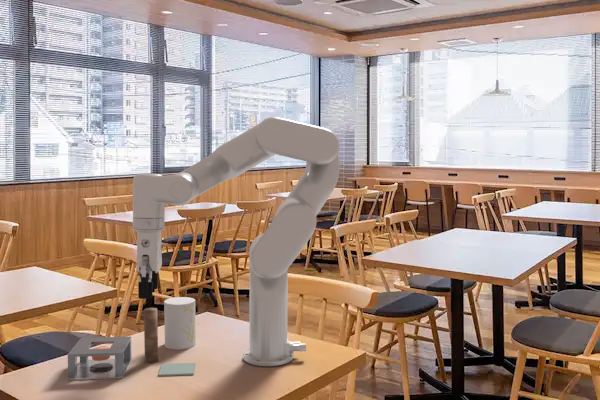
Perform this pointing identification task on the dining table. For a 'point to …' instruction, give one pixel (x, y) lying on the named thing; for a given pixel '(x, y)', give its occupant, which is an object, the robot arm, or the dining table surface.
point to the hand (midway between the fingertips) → (148, 293)
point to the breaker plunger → (100, 358)
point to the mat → (177, 369)
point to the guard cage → (99, 368)
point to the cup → (179, 323)
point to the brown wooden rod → (151, 335)
